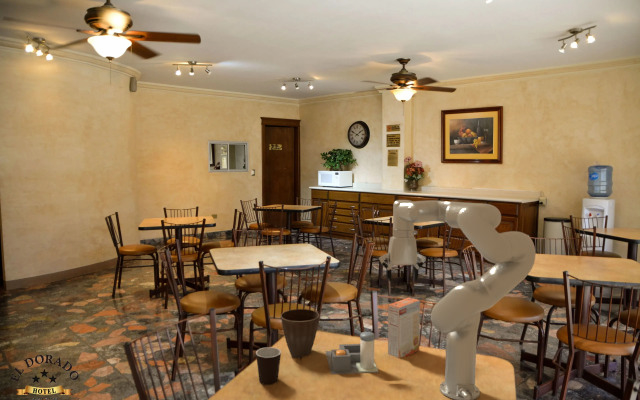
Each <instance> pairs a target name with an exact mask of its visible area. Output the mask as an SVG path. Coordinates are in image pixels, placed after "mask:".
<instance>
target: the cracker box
mask: <svg viewBox="0 0 640 400" xmlns="http://www.w3.org/2000/svg"><path fill="white" fill-rule="evenodd" d="M387 307H388V308H387V355H389V356H392V357H394V358H397V359H400V358H403V357H408V356H410V355H412V354H414V353H416V352H418V351H420V328H421V327H420V322H421V321H420V317H421V315H420V314H421V312H420V311H421V309H420V308H421V301H420V299H416V298H412V297H406V298H403V299H401V300H398V301H395V302H393V303H389V304H387Z"/></svg>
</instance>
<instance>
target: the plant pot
mask: <svg viewBox="0 0 640 400" xmlns="http://www.w3.org/2000/svg"><path fill="white" fill-rule="evenodd" d="M280 319H281V320H280V321H281V325H282V331H283V335H284V339H285V343H286V346H287V348H288V350H289V354H290V356H291V357H292V358H296V359H302V357H307V356H309V355H310V354H311V351H312V350H313V347H314V344H315V339H316V335H317V331H318V326H319V319H320V314H319V312H317V311H315V310H313V309H307V308H298V309H296V308H295V309H288V310H285V311H284V312H282V313H281V314H280Z"/></svg>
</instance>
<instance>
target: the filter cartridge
mask: <svg viewBox="0 0 640 400" xmlns="http://www.w3.org/2000/svg"><path fill="white" fill-rule="evenodd" d="M359 336H360V338H359V340H360V342H359V344H360V367H361V368H362V369H365V370H370V369H373V368H374V362H375V339H376V338H375V337H376V335H375V333H373V332H371V331H363V332H360V335H359Z"/></svg>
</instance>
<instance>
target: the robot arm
mask: <svg viewBox="0 0 640 400" xmlns="http://www.w3.org/2000/svg"><path fill="white" fill-rule="evenodd" d="M392 211H393V212H392V236H390V237H389V242H388V249H387V251H388V252H387V253H385V254H383V255H381V256H380V257H378V260H379V261H380V263H381V265H382V266H383V267H384V268H385V277H386V279H387V280H388V281H389V282H390V281H392V270H391V269H392V268H393V266H413V268H412V279H413V280H414V281H417V280H418V278H419V270H420V269H421V267H423V265H424V263H425V261H427V260H426V259H427V257H426V256H424V255H422V254H420V253H418V249H417V247H418V246H417V241H416V237H415V235H418V230H415V224H419V223H427V222H429V223H430V222H439V223H440V222H441V223H442V222H443V223H446V224H447V225H448V226H449V227H450V228H453V229H460V231H461V232H462V233H463V235H464V236H465V237H466V239H468V240H469V242H470V243H471V244H472V245H473V246H474V248H475V249H476V250H477V252H479V254H480V256H482V257H483V258H484V259H485V260H486V261H488V262H490V263H493V264H494V265H492V266H491V267H490V268H489V269H488V270H487V271H486V272H485V273H484V274H482V275H481V276H480V277H479V278H477V279H476V278H475V279H474V280H470V281H466V282H463V283H460V284H458V285H456V286H455V287H453V288H451V290H450V291H448V292H447V293H446V294H445V296H443V297H442V298H441V299H440V300H439V301H438V302H437V303H435V305H434V306H433V308H432V310H431V314H430V321H431V324H432V326H433V327H434V328H435V329H436V330H437V331H438V332H440V333H443V334H446V337H445V338H446V340H445V341H446V342H445V363H444V365H445V371H444V381H442V382H441V383H440V385H439V391H440V392H441V393H442V394H443V395H444V396H445V397H447V398H449V399H452V400H476V399H478V398H479V397H480V395H481V394H480V392H481V391H480V389H479V387H477V386H476V369H477V368H476V365H477V343H478V342H477V340H478V339H477V338H478V331H479V328H480V327H479V326H480V322H481V313H482V312H484V311H487V310H489V309H491V308H493V307H494V306H495V305H496V304H497V303H498V302H499V301H500V300H501V299H503V298H504V297H505V296H507V295H508V294H509V293H510V292H511V291H513V290H514V288H515V287H517V286H518V285H519V284H520V283H521V282H522V281H523V280H524V279H526V277H527V276H528V275H529V274H530V272H531V271H532V270H533V267H534V265H535V262H536V247H535V245H534V244H535V243H534V242H533V240H532V238H531V237H530V236H529V235H528V234H526V233H525V232H521V231H516V230H514V231H505V232H498V231H497V230H496V229H497V227H498V226H499V225H500V224H501V222H502V221H501V220H502V214H501V211H500V209H498V207H496V206H495V205H492V204H489V203H480V202H479V203H477V202H475V203H474V202H463V201H448V200H447V201H446V200H432V199H431V200H430V199H429V200H418V201H417V200H416V201H415V200H414V201H412V200H410V199H396V200H395V201H394V202H393V209H392ZM418 258H419V260H420V261H418ZM386 259H387V263H386V261H385V260H386Z"/></svg>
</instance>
